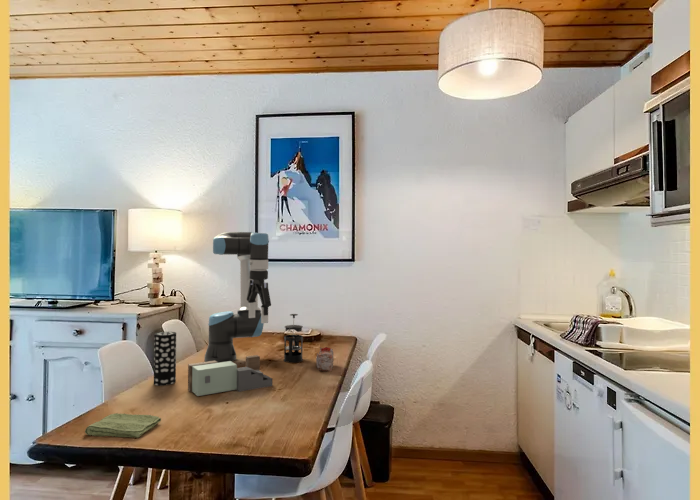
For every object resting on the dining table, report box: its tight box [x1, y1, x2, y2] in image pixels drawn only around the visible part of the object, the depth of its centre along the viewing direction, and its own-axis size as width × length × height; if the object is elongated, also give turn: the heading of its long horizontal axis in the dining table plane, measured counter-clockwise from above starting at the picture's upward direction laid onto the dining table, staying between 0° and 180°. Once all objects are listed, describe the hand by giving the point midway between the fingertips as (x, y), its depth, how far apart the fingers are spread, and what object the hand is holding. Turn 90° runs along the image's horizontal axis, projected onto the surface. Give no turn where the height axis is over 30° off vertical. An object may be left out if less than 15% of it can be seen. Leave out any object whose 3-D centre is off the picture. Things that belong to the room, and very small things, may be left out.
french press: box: [283, 313, 304, 364], centre depth 222 cm, size 12×9×23 cm
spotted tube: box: [153, 331, 177, 387], centre depth 182 cm, size 8×8×20 cm
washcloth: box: [84, 412, 162, 439], centre depth 135 cm, size 13×18×3 cm
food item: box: [315, 346, 335, 372], centre depth 208 cm, size 14×8×10 cm, turn 2°
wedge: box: [235, 366, 273, 393], centre depth 178 cm, size 5×14×8 cm, turn 124°
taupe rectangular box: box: [187, 354, 261, 393], centre depth 180 cm, size 3×28×10 cm, turn 126°
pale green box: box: [191, 361, 238, 397], centre depth 172 cm, size 8×15×10 cm, turn 126°
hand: (258, 320), depth 188 cm, fingers open, 13 cm apart
